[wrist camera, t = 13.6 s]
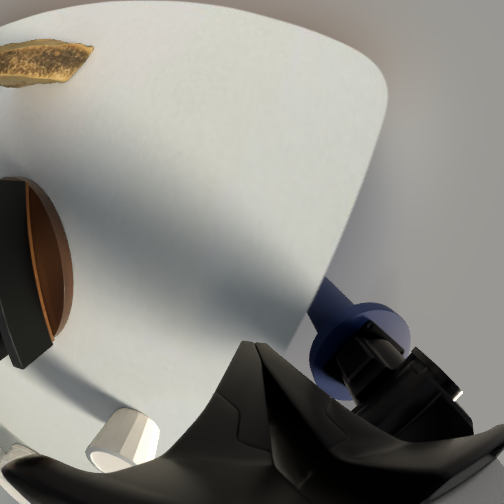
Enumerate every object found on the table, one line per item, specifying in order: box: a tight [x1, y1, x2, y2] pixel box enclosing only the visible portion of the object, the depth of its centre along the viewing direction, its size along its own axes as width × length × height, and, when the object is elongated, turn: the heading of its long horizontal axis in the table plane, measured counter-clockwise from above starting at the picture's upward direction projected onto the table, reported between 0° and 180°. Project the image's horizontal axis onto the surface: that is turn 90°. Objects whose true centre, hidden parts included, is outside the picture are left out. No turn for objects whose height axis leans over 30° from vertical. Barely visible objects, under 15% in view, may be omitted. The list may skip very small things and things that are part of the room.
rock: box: [0, 39, 94, 88], centre depth 13 cm, size 11×9×10 cm
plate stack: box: [0, 444, 37, 504], centre depth 23 cm, size 28×28×12 cm
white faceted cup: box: [85, 408, 159, 473], centre depth 20 cm, size 7×7×7 cm
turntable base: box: [0, 177, 73, 337], centre depth 19 cm, size 18×18×2 cm
